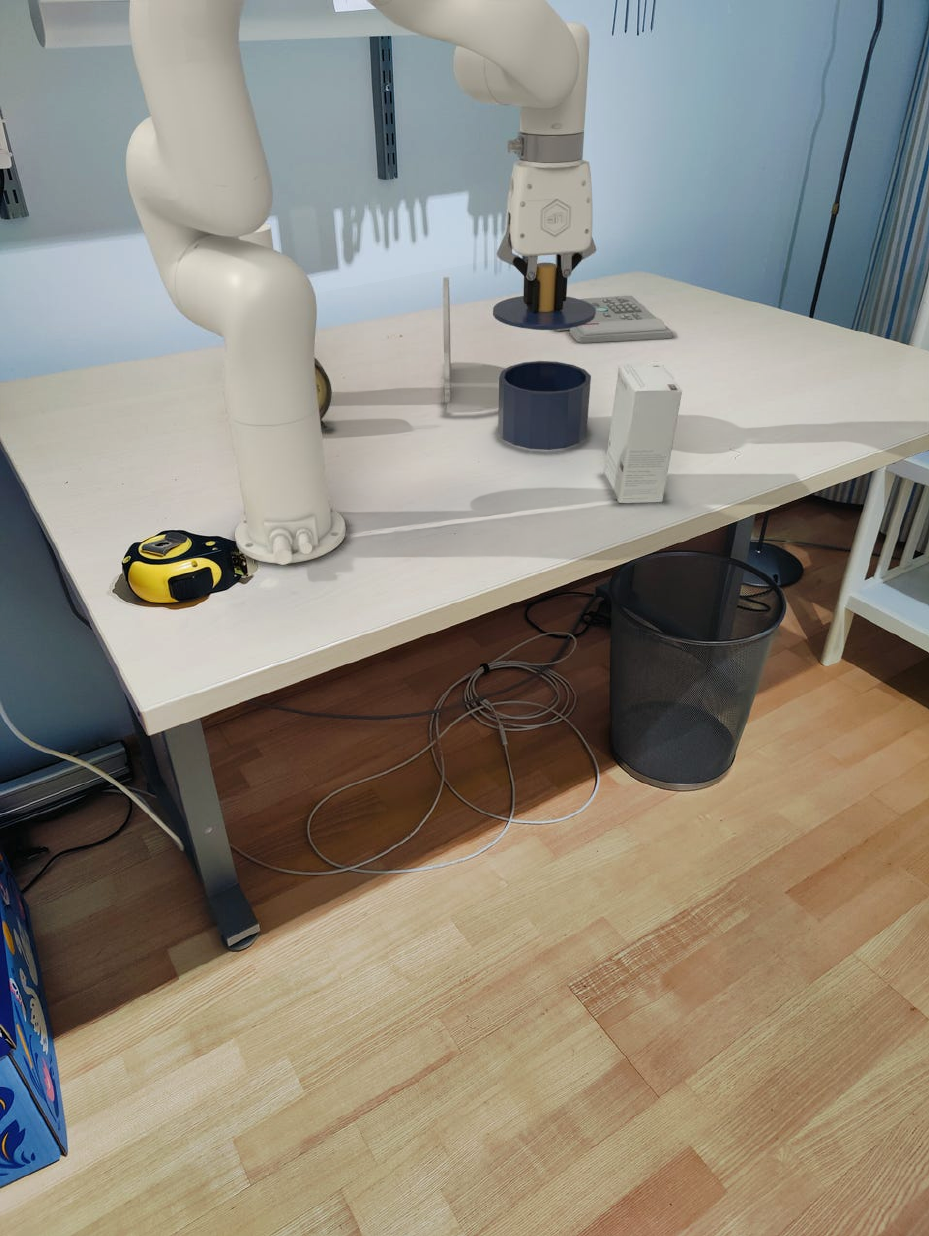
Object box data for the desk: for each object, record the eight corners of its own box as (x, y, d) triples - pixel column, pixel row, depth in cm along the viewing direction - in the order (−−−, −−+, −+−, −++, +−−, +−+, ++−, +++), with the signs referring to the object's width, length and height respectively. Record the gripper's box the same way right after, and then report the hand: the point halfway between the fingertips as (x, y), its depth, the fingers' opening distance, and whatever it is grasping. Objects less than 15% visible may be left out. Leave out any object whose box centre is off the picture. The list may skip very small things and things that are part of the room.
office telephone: (675, 324, 156) (568, 331, 153) (673, 338, 158) (567, 346, 155) (632, 288, 174) (535, 294, 172) (630, 301, 176) (535, 307, 173)
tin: (599, 447, 119) (604, 388, 114) (512, 457, 117) (514, 397, 112) (569, 413, 129) (572, 357, 124) (489, 422, 127) (489, 365, 122)
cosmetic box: (603, 475, 112) (614, 363, 104) (648, 473, 113) (663, 361, 104) (618, 506, 106) (631, 388, 97) (667, 503, 106) (684, 386, 97)
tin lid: (610, 329, 110) (615, 274, 106) (509, 338, 107) (510, 282, 103) (574, 300, 120) (577, 249, 116) (481, 308, 118) (481, 256, 114)
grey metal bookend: (446, 365, 146) (444, 261, 137) (524, 364, 146) (527, 260, 137) (445, 416, 129) (442, 301, 119) (534, 415, 129) (538, 300, 119)
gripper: (493, 157, 97) (492, 322, 108) (627, 150, 101) (613, 311, 111) (476, 148, 103) (477, 305, 114) (603, 142, 106) (592, 295, 117)
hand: (544, 307), depth 113 cm, fingers closed on tin lid, 2 cm apart
